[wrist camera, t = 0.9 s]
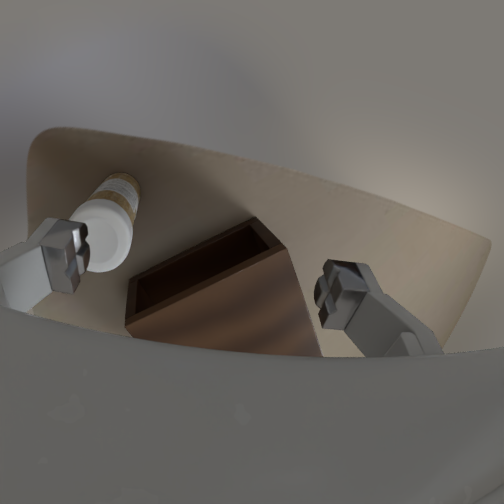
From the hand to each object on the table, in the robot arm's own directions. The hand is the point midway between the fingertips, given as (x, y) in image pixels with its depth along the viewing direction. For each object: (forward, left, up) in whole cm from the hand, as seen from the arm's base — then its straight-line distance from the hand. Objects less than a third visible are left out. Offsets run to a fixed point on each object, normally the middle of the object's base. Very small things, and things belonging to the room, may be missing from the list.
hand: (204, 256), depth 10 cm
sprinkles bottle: (0, -6, -22) cm, 23 cm away
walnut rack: (+17, -2, -22) cm, 28 cm away
